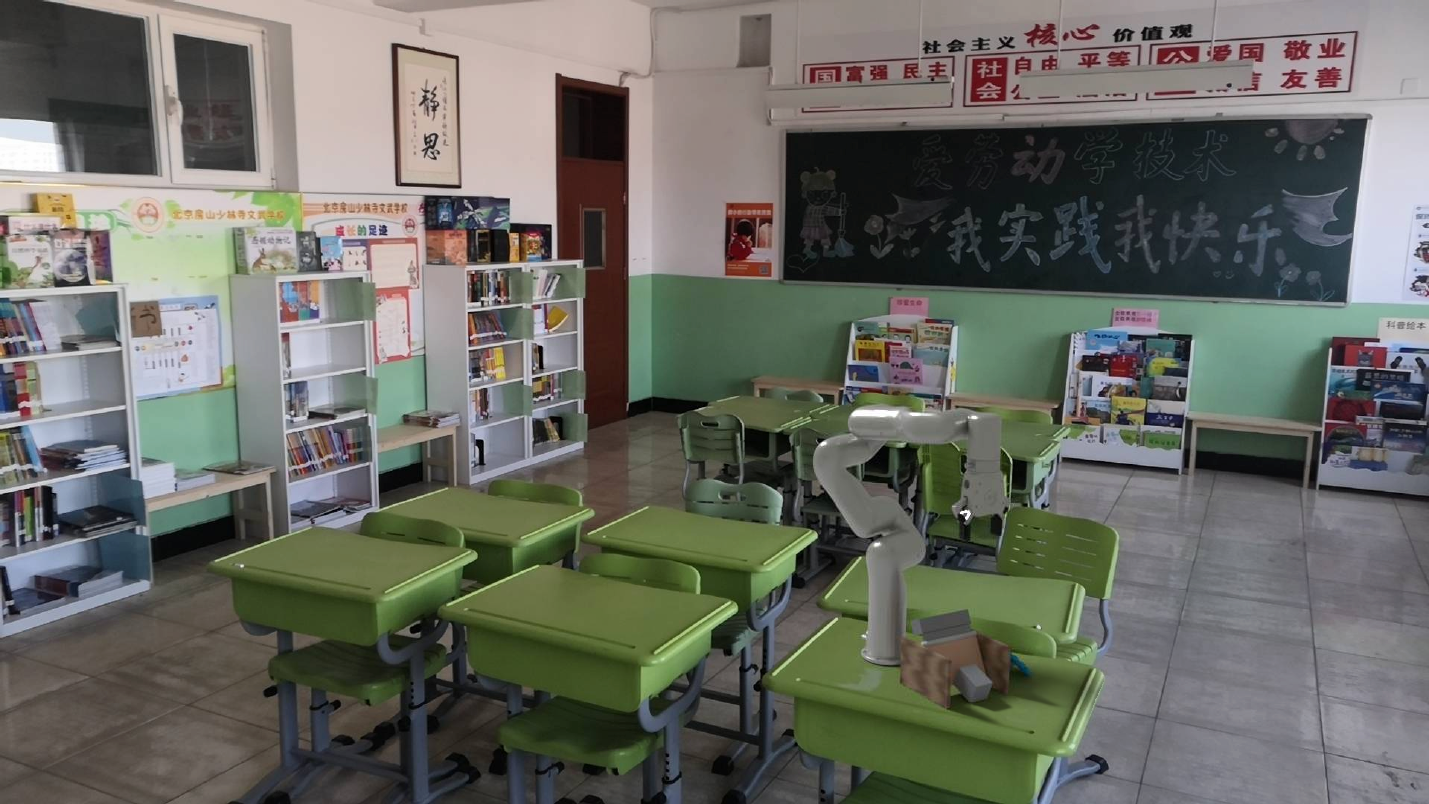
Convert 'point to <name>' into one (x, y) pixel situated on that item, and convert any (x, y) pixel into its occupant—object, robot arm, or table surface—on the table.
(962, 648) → the trapdoor
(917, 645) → the frame
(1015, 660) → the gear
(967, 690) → the grey short rectangular block
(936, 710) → the table surface
